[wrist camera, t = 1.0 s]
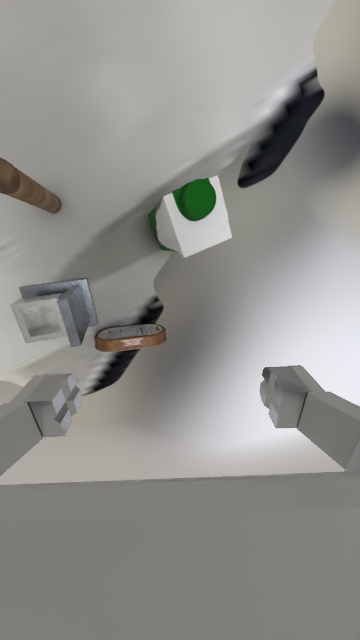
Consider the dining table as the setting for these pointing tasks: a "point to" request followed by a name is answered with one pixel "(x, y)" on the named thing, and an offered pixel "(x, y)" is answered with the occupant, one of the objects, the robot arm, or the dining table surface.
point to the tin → (130, 337)
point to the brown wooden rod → (26, 188)
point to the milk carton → (191, 217)
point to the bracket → (55, 311)
